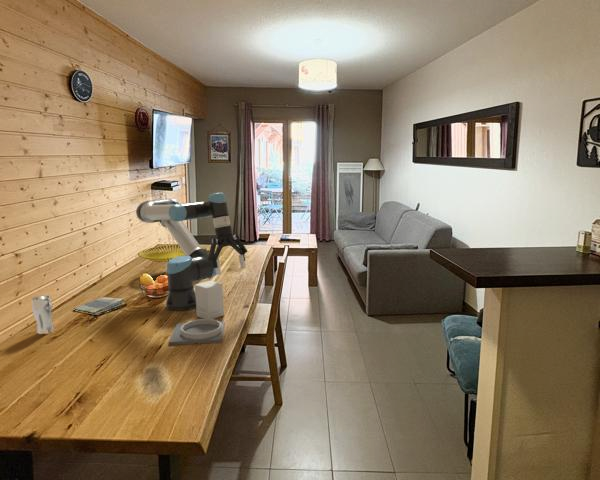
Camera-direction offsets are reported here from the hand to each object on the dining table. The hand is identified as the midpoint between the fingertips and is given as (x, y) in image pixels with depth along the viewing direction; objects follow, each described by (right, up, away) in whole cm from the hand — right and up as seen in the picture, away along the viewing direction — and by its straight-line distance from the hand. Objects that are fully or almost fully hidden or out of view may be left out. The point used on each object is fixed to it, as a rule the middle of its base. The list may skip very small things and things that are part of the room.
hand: (231, 271), depth 204 cm
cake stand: (-45, -7, +64) cm, 79 cm away
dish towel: (-64, -19, +8) cm, 67 cm away
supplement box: (-9, -20, -5) cm, 22 cm away
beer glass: (-74, -24, -20) cm, 81 cm away
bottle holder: (-10, -23, -25) cm, 36 cm away
